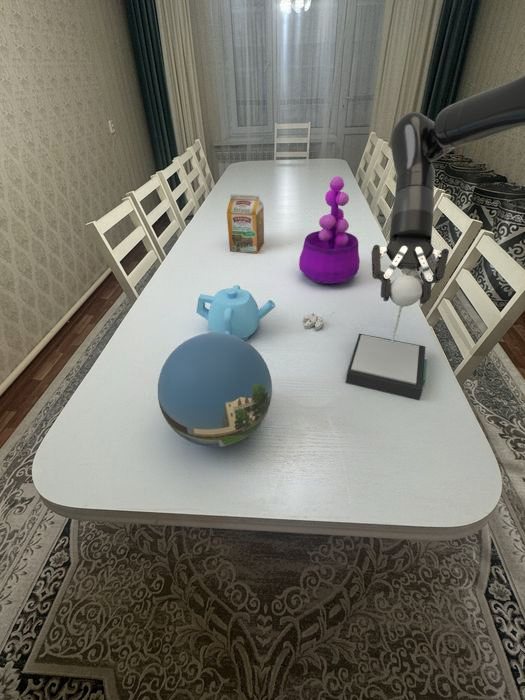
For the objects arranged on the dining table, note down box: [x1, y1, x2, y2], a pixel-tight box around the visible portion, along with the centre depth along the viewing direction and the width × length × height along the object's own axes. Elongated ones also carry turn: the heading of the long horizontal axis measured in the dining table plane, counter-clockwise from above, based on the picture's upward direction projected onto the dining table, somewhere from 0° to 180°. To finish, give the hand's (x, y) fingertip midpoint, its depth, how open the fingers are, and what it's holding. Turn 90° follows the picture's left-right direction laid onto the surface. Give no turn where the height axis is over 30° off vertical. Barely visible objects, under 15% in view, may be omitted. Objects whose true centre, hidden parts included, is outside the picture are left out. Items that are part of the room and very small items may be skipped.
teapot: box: [196, 284, 276, 341], centre depth 90 cm, size 20×17×12 cm
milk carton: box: [226, 193, 265, 255], centre depth 131 cm, size 11×11×19 cm
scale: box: [345, 333, 428, 401], centre depth 79 cm, size 16×15×4 cm
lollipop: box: [389, 274, 423, 342], centre depth 71 cm, size 6×6×15 cm
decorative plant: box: [298, 176, 360, 284], centre depth 107 cm, size 19×18×30 cm
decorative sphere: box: [157, 332, 273, 448], centre depth 63 cm, size 20×20×20 cm
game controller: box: [302, 311, 335, 331], centre depth 96 cm, size 6×12×3 cm, turn 145°
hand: (404, 301), depth 68 cm, fingers closed on lollipop, 6 cm apart
